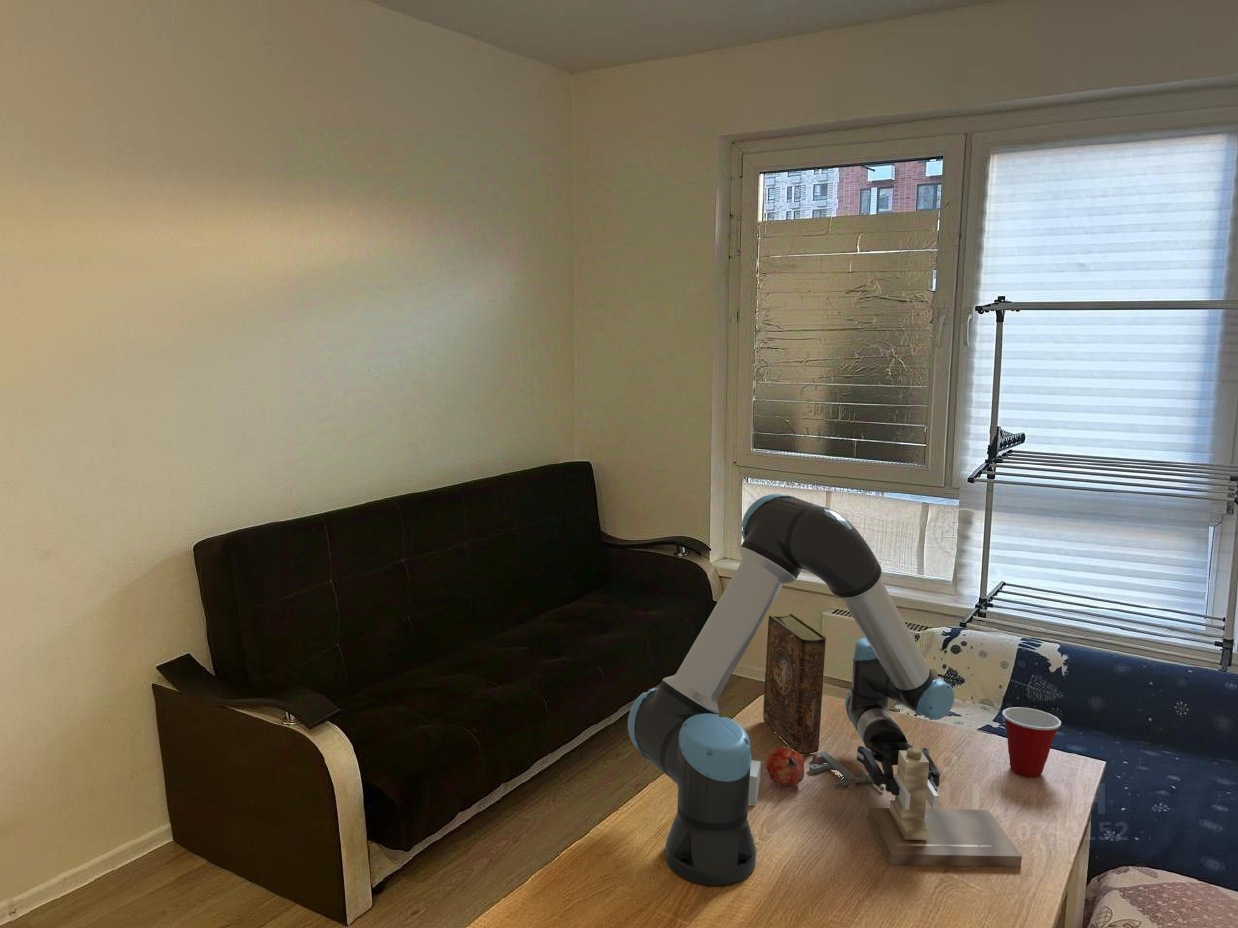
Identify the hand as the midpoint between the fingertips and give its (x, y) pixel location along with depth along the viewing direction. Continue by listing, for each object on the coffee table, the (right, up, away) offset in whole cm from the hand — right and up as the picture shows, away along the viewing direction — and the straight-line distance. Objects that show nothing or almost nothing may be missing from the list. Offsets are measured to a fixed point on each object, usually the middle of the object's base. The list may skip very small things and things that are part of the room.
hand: (921, 802), depth 154 cm
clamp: (-7, -6, +27) cm, 29 cm away
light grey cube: (-28, -6, +20) cm, 34 cm away
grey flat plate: (+5, -9, +6) cm, 12 cm away
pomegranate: (-19, -5, +25) cm, 31 cm away
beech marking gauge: (0, -6, +7) cm, 9 cm away
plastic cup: (+31, -5, +31) cm, 44 cm away
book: (-14, -2, +43) cm, 46 cm away
